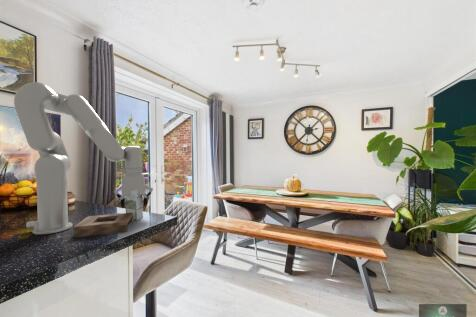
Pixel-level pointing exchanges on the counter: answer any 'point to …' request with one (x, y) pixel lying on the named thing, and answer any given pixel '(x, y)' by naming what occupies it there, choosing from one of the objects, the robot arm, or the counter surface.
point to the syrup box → (134, 205)
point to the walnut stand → (103, 224)
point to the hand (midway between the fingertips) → (134, 206)
